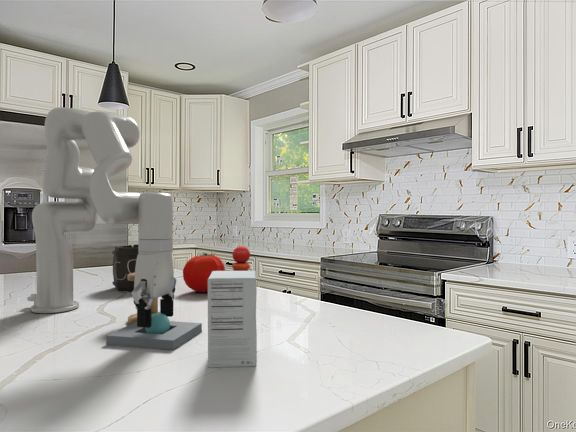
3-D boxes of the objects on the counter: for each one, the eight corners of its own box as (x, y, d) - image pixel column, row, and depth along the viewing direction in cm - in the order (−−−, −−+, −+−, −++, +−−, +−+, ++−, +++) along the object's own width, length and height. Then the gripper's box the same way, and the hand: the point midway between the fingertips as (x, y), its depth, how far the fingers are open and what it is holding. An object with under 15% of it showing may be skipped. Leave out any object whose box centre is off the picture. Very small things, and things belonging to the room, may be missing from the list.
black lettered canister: (155, 292, 152) (155, 248, 152) (104, 292, 152) (104, 248, 152) (170, 283, 170) (169, 244, 170) (124, 283, 170) (124, 244, 170)
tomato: (217, 286, 163) (217, 250, 163) (232, 293, 151) (232, 254, 151) (176, 291, 155) (176, 253, 155) (188, 297, 143) (188, 256, 143)
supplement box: (211, 351, 89) (211, 270, 89) (256, 350, 90) (256, 269, 90) (207, 368, 80) (206, 277, 80) (257, 366, 81) (256, 277, 80)
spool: (119, 324, 110) (119, 276, 110) (141, 315, 120) (141, 270, 120) (155, 327, 108) (154, 277, 108) (174, 317, 117) (174, 271, 117)
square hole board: (106, 344, 94) (106, 335, 94) (142, 327, 107) (142, 319, 107) (173, 350, 90) (173, 340, 90) (201, 331, 104) (201, 323, 104)
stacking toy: (249, 314, 120) (249, 247, 120) (222, 313, 122) (222, 247, 121) (257, 308, 128) (257, 245, 127) (231, 307, 129) (231, 244, 129)
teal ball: (139, 337, 97) (141, 312, 98) (151, 335, 102) (154, 311, 103) (161, 339, 95) (163, 314, 96) (173, 337, 101) (175, 313, 102)
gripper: (160, 243, 108) (160, 311, 108) (118, 249, 91) (118, 330, 91) (188, 244, 106) (188, 313, 106) (150, 250, 89) (150, 333, 89)
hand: (156, 321), depth 99 cm, fingers open, 9 cm apart
